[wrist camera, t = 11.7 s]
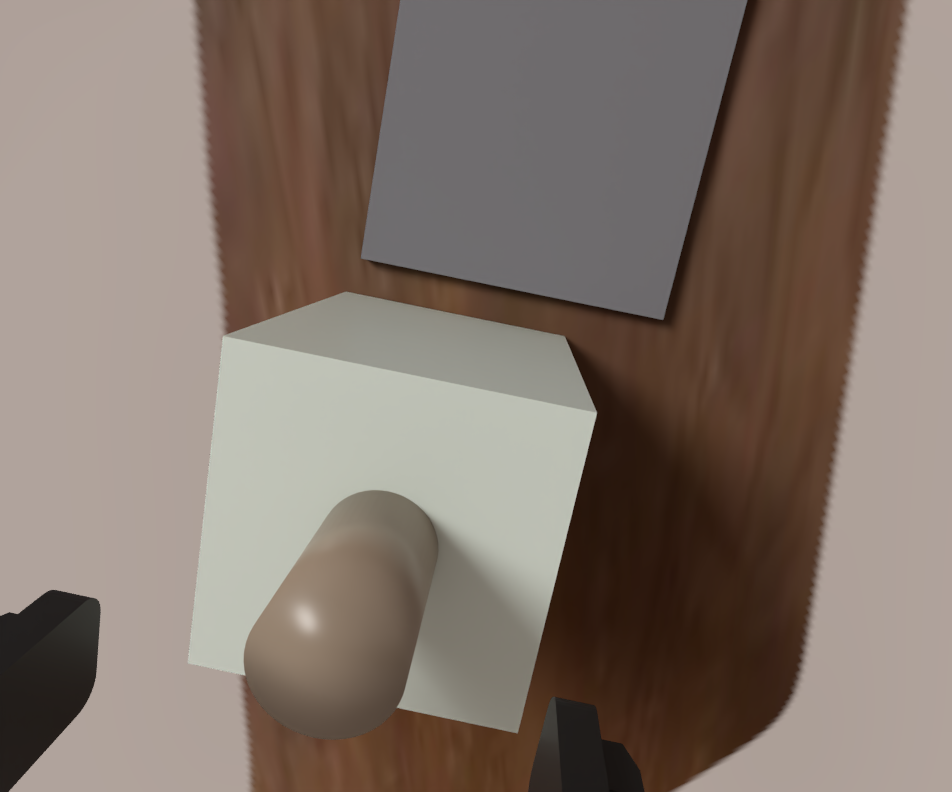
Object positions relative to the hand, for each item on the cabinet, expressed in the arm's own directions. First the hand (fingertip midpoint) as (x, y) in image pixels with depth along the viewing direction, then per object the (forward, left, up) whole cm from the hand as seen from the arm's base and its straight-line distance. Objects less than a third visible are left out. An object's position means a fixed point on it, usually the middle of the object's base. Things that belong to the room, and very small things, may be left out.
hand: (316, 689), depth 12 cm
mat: (-12, +2, -18) cm, 21 cm away
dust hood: (0, 0, -18) cm, 18 cm away
